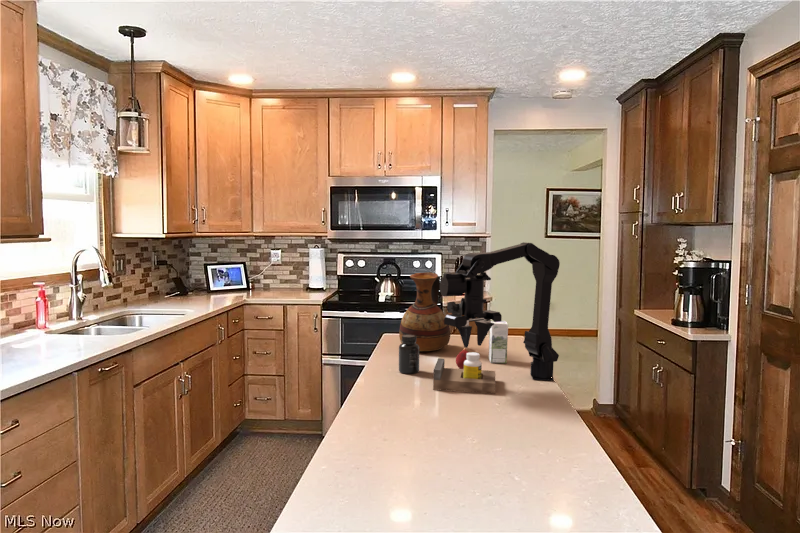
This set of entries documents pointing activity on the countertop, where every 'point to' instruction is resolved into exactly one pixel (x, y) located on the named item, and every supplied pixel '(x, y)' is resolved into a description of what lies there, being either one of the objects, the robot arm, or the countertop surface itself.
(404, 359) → the supplement bottle
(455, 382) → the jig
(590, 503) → the countertop surface
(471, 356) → the supplement bottle
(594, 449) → the countertop surface
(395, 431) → the countertop surface
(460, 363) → the onion
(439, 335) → the brown ceramic vase
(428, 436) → the countertop surface
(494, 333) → the syrup box
